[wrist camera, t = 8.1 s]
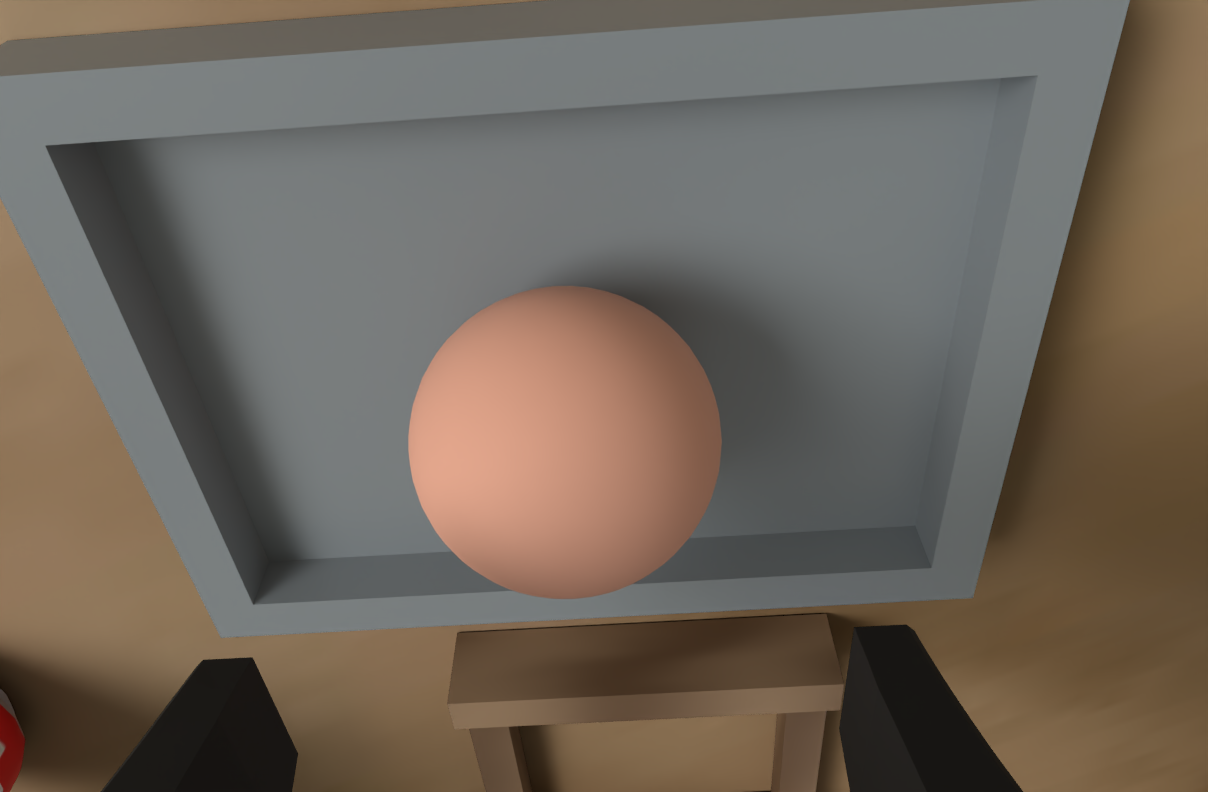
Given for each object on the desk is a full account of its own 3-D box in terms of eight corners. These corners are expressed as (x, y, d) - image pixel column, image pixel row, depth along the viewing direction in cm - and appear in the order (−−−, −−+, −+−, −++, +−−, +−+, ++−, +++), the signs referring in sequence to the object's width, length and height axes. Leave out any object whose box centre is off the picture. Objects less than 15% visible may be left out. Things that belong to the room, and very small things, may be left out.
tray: (1075, -39, 14) (1131, -7, 12) (946, 535, 21) (972, 597, 19) (7, 40, 14) (-59, 80, 13) (245, 573, 21) (221, 637, 20)
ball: (700, 218, 15) (747, 399, 11) (703, 447, 18) (741, 653, 14) (402, 243, 16) (346, 431, 12) (453, 467, 19) (422, 678, 15)
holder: (826, 613, 22) (843, 684, 21) (803, 808, 28) (815, 875, 26) (457, 633, 23) (447, 704, 21) (505, 821, 28) (500, 889, 27)
